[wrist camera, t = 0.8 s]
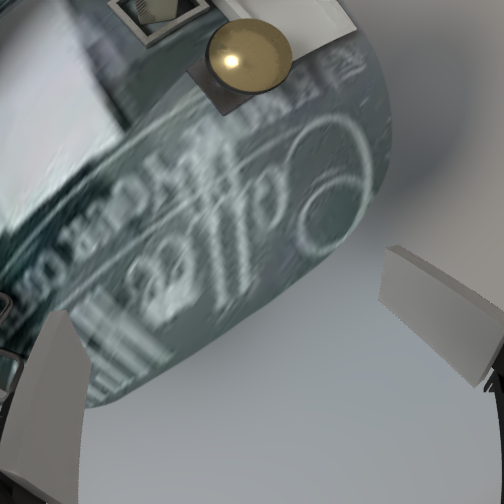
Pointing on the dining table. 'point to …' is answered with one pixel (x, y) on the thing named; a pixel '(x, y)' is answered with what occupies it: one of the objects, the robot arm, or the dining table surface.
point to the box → (156, 10)
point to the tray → (294, 20)
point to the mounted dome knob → (242, 62)
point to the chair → (6, 311)
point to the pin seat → (162, 32)
